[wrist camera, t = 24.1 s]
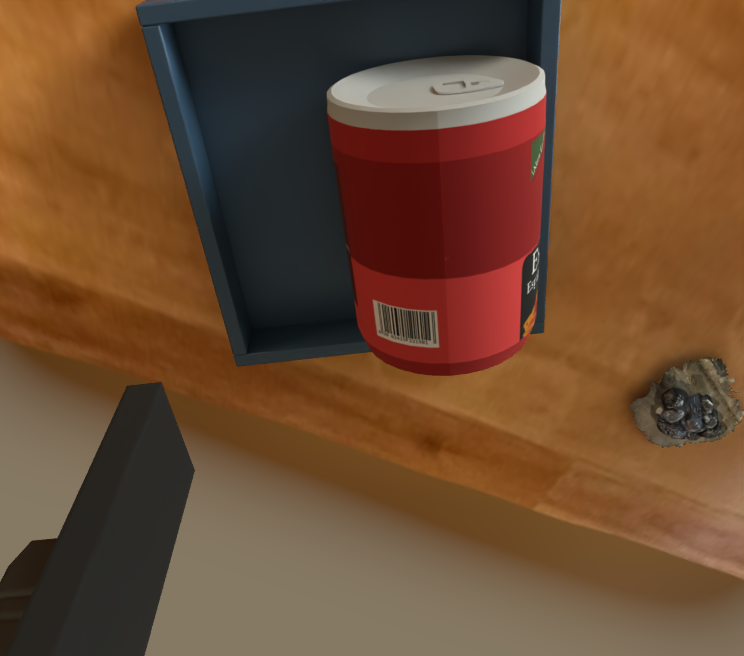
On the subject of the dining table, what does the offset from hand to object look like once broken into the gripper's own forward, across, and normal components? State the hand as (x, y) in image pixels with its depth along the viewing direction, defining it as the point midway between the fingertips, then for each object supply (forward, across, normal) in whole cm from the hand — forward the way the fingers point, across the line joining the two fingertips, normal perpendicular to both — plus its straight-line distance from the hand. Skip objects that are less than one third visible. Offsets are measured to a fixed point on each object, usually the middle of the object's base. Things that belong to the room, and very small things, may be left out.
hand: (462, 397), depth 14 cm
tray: (+18, -2, -1) cm, 18 cm away
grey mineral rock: (+18, +16, -18) cm, 30 cm away
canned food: (+13, +1, -8) cm, 15 cm away
